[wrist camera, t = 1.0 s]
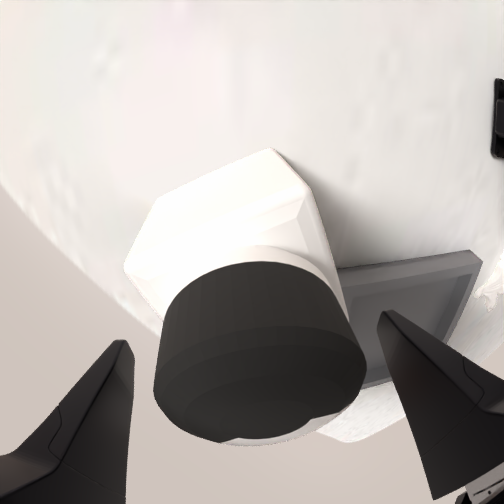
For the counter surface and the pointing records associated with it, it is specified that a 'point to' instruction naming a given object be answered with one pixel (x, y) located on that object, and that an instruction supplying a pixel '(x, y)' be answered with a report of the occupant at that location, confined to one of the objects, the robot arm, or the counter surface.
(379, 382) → the gray tray
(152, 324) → the counter surface
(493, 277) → the acanthus leaf ornament
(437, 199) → the counter surface
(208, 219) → the medicine bottle
